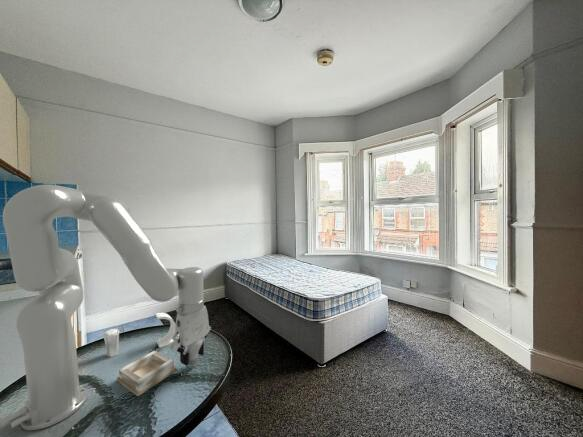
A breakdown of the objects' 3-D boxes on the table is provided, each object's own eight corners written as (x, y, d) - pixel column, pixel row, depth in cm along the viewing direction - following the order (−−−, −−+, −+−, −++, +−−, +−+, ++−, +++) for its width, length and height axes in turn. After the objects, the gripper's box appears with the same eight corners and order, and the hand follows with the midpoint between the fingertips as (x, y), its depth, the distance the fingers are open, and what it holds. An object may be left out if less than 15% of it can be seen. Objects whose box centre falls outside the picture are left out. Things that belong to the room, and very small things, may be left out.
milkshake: (114, 359, 84) (112, 331, 83) (101, 357, 85) (99, 330, 84) (125, 351, 88) (123, 325, 87) (113, 349, 89) (111, 324, 88)
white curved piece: (156, 342, 93) (155, 313, 92) (173, 337, 97) (172, 308, 96) (159, 348, 90) (158, 317, 89) (176, 341, 94) (175, 312, 93)
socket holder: (137, 396, 67) (137, 384, 67) (116, 381, 73) (116, 370, 73) (176, 370, 78) (176, 360, 77) (155, 358, 84) (154, 349, 83)
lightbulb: (195, 372, 75) (195, 338, 75) (178, 369, 76) (178, 336, 76) (206, 360, 81) (206, 329, 81) (190, 358, 82) (190, 327, 82)
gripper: (174, 319, 68) (176, 379, 69) (219, 299, 83) (220, 348, 84) (159, 313, 72) (160, 370, 73) (204, 294, 87) (205, 342, 88)
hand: (192, 358), depth 79 cm, fingers closed on lightbulb, 5 cm apart
